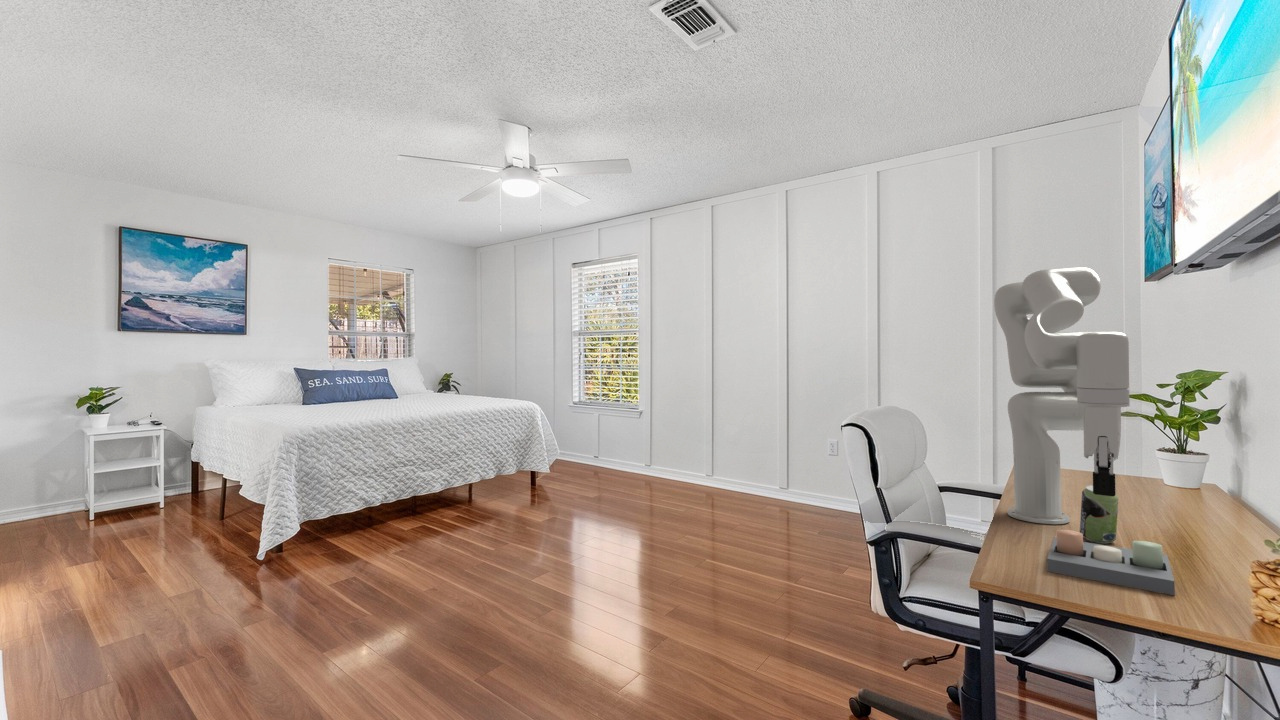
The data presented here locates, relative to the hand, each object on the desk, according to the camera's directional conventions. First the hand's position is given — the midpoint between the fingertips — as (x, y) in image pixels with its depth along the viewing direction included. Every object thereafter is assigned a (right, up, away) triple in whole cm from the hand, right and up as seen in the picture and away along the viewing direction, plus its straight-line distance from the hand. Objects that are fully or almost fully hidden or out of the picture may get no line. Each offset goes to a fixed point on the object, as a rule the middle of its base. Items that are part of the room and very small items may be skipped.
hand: (1104, 494), depth 102 cm
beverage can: (+12, -14, +15) cm, 24 cm away
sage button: (+4, -12, -4) cm, 13 cm away
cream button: (0, -14, -1) cm, 14 cm away
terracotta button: (-4, -12, +3) cm, 13 cm away
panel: (0, -14, 0) cm, 14 cm away
